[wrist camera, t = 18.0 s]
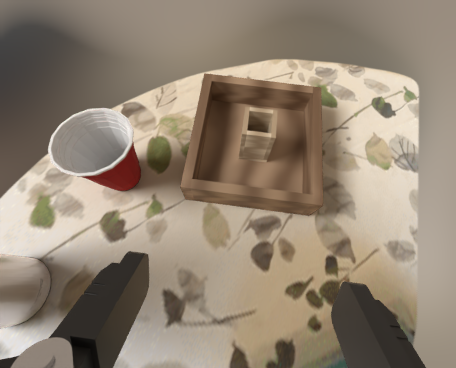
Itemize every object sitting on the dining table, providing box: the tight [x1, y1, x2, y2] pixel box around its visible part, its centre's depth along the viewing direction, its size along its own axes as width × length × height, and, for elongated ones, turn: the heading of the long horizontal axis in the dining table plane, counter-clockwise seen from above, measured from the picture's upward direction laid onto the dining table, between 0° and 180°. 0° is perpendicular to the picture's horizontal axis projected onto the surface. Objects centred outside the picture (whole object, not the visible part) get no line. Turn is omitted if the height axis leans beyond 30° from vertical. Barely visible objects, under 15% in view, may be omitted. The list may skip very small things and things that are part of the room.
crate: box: [180, 74, 323, 215], centre depth 42 cm, size 21×22×6 cm
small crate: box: [238, 106, 278, 162], centre depth 40 cm, size 5×5×8 cm
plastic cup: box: [48, 108, 141, 191], centre depth 37 cm, size 11×11×12 cm
